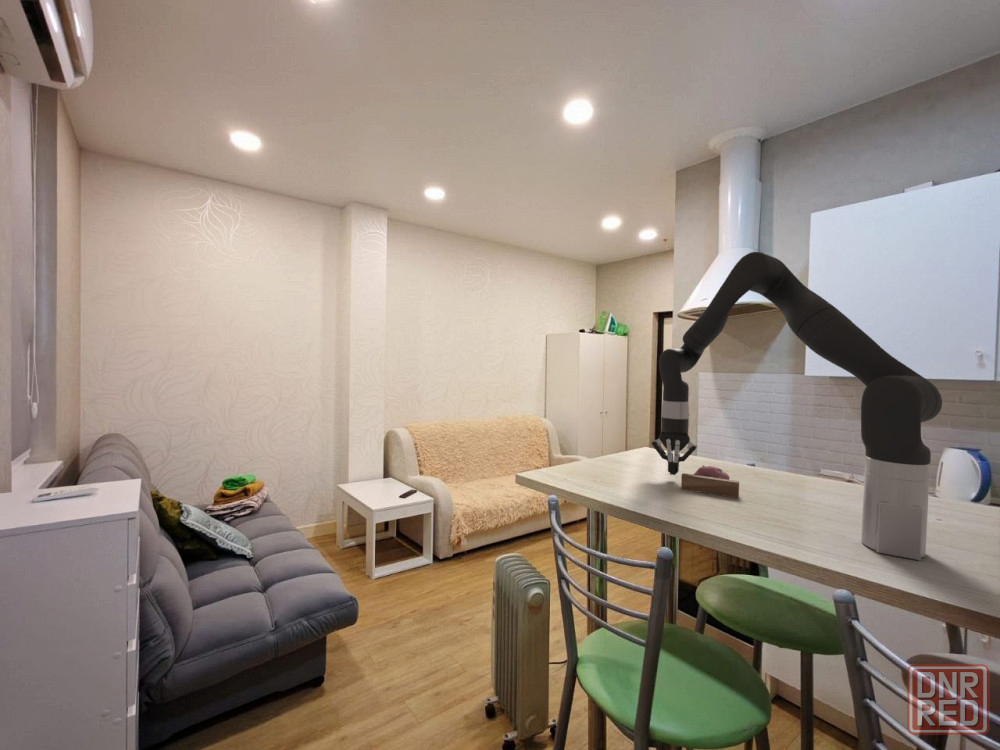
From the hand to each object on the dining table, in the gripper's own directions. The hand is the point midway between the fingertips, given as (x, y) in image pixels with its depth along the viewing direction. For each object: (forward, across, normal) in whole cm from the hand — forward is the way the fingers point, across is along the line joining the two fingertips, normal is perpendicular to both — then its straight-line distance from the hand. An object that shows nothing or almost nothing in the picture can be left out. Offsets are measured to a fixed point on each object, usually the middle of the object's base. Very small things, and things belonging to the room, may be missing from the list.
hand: (673, 474), depth 131 cm
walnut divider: (+2, +10, -7) cm, 13 cm away
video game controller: (+2, +10, -1) cm, 10 cm away
